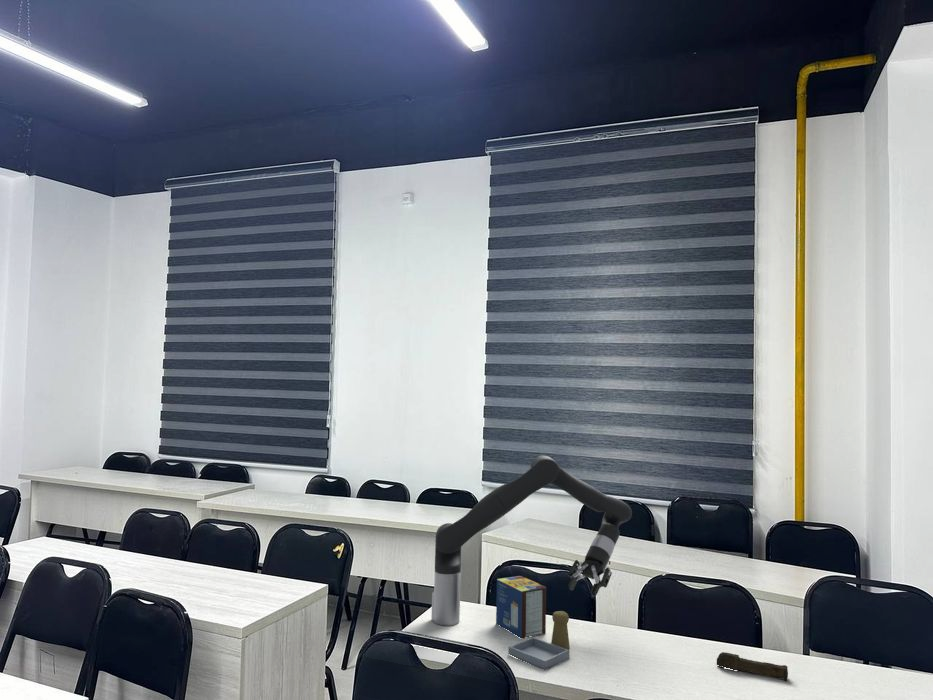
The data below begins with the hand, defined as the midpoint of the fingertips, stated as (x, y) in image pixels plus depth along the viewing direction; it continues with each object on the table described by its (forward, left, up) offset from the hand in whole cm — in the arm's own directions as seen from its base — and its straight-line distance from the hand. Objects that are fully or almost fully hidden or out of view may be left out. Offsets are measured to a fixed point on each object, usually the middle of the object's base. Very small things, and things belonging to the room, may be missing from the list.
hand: (581, 592), depth 206 cm
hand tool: (+49, +16, -15) cm, 54 cm away
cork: (0, -11, -15) cm, 19 cm away
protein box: (-19, -8, -15) cm, 26 cm away
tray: (0, -22, -15) cm, 27 cm away
